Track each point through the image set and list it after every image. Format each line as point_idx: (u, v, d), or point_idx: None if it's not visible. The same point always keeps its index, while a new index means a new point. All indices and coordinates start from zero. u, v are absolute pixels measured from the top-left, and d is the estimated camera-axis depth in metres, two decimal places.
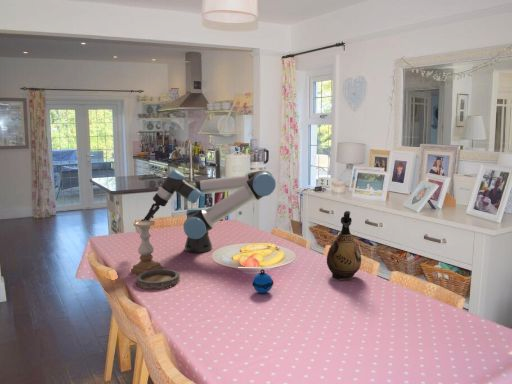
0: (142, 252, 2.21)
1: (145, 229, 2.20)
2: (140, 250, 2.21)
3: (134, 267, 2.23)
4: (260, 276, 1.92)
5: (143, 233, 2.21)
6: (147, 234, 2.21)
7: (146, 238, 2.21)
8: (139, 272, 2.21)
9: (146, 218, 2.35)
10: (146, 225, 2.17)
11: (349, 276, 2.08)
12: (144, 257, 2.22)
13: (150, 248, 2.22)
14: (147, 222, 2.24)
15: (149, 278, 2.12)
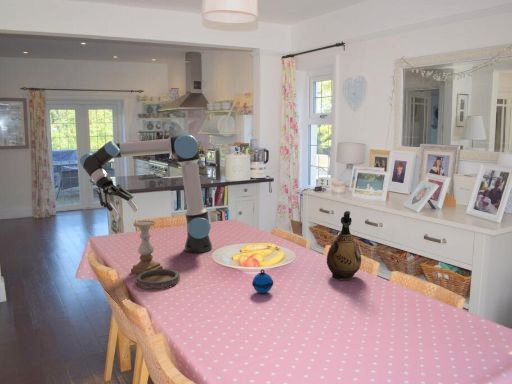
0: (142, 252, 2.21)
1: (145, 229, 2.20)
2: (140, 250, 2.21)
3: (134, 267, 2.23)
4: (260, 276, 1.92)
5: (143, 233, 2.21)
6: (147, 234, 2.21)
7: (146, 238, 2.21)
8: (139, 272, 2.21)
9: (101, 201, 2.20)
10: (146, 225, 2.17)
11: (349, 276, 2.08)
12: (144, 257, 2.22)
13: (150, 248, 2.22)
14: (147, 222, 2.24)
15: (149, 278, 2.12)
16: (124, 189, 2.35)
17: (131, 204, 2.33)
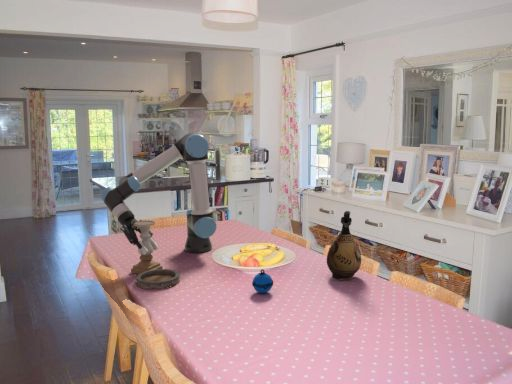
0: (142, 252, 2.21)
1: (145, 229, 2.20)
2: (140, 250, 2.21)
3: (134, 267, 2.23)
4: (260, 276, 1.92)
5: (143, 233, 2.21)
6: (147, 234, 2.21)
7: (146, 238, 2.21)
8: (139, 272, 2.21)
9: (129, 239, 2.18)
10: (146, 225, 2.17)
11: (349, 276, 2.08)
12: (144, 257, 2.22)
13: (150, 248, 2.22)
14: (147, 222, 2.24)
15: (149, 278, 2.12)
16: None
17: (151, 243, 2.26)
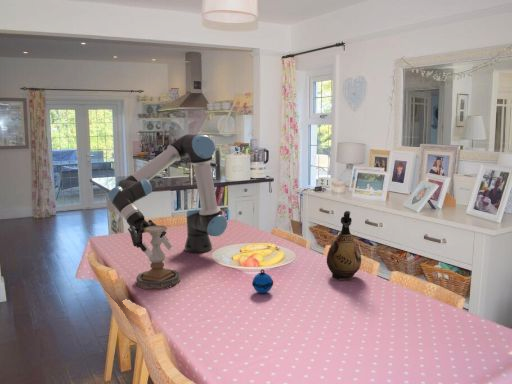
0: (153, 260, 2.05)
1: (156, 235, 2.05)
2: (151, 257, 2.05)
3: (144, 276, 2.07)
4: (260, 276, 1.92)
5: (154, 239, 2.05)
6: (158, 240, 2.06)
7: (157, 244, 2.06)
8: (150, 281, 2.05)
9: (133, 241, 2.01)
10: (158, 231, 2.02)
11: (349, 276, 2.08)
12: (156, 265, 2.06)
13: (162, 255, 2.06)
14: (158, 227, 2.09)
15: None
16: (156, 225, 2.16)
17: (164, 242, 2.13)
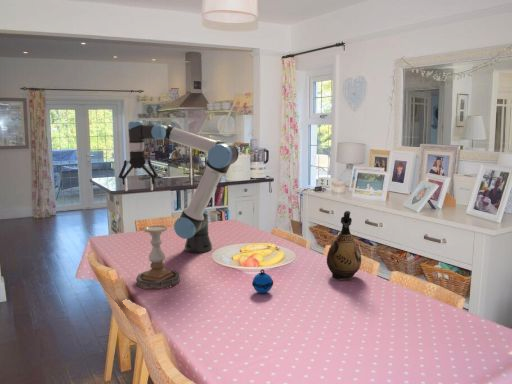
0: (153, 260, 2.05)
1: (156, 235, 2.05)
2: (151, 257, 2.05)
3: (144, 276, 2.07)
4: (260, 276, 1.92)
5: (154, 239, 2.05)
6: (158, 240, 2.06)
7: (157, 244, 2.06)
8: (150, 281, 2.05)
9: None
10: (158, 231, 2.02)
11: (349, 276, 2.08)
12: (156, 265, 2.06)
13: (162, 255, 2.06)
14: (158, 227, 2.09)
15: None
16: (152, 167, 2.48)
17: None
